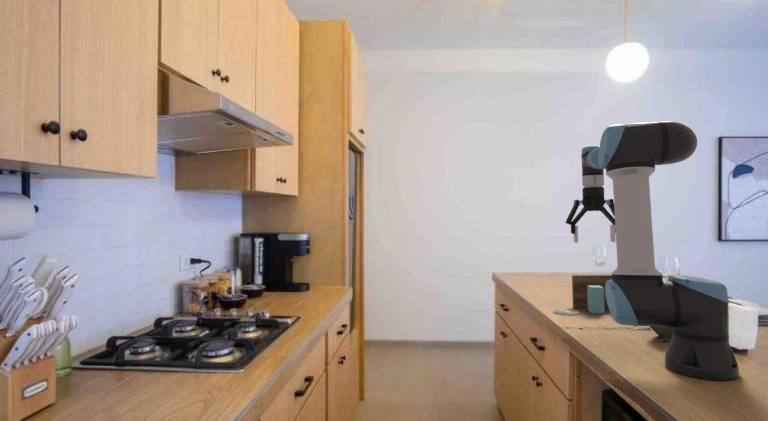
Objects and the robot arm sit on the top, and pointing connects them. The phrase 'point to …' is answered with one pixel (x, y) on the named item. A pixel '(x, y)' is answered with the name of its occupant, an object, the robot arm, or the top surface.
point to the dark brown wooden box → (581, 289)
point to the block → (595, 299)
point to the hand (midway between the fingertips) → (594, 242)
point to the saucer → (566, 311)
